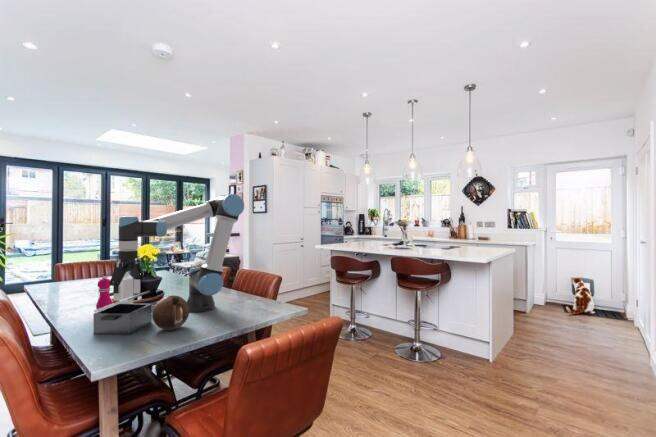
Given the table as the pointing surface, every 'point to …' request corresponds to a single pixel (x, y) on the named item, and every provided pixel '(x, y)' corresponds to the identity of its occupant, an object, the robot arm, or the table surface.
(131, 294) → the milk
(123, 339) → the table surface
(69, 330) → the table surface
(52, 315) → the table surface
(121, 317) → the gray box
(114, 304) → the lid
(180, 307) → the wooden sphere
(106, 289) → the pepper mill
